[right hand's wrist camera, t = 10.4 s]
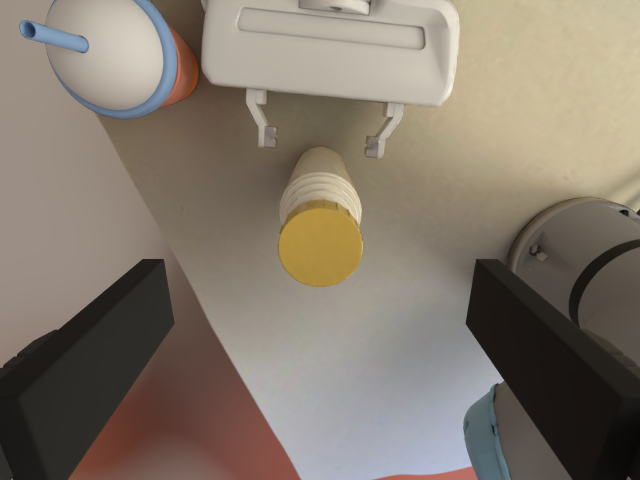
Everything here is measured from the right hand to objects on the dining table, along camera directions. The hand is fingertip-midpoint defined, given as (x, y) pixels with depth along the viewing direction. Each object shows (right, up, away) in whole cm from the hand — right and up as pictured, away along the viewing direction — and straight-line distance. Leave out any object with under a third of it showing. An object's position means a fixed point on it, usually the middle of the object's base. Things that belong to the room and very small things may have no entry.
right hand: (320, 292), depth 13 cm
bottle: (0, +9, +26) cm, 27 cm away
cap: (0, +2, +4) cm, 5 cm away
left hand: (0, +10, +18) cm, 21 cm away
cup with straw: (-15, +19, +22) cm, 33 cm away
